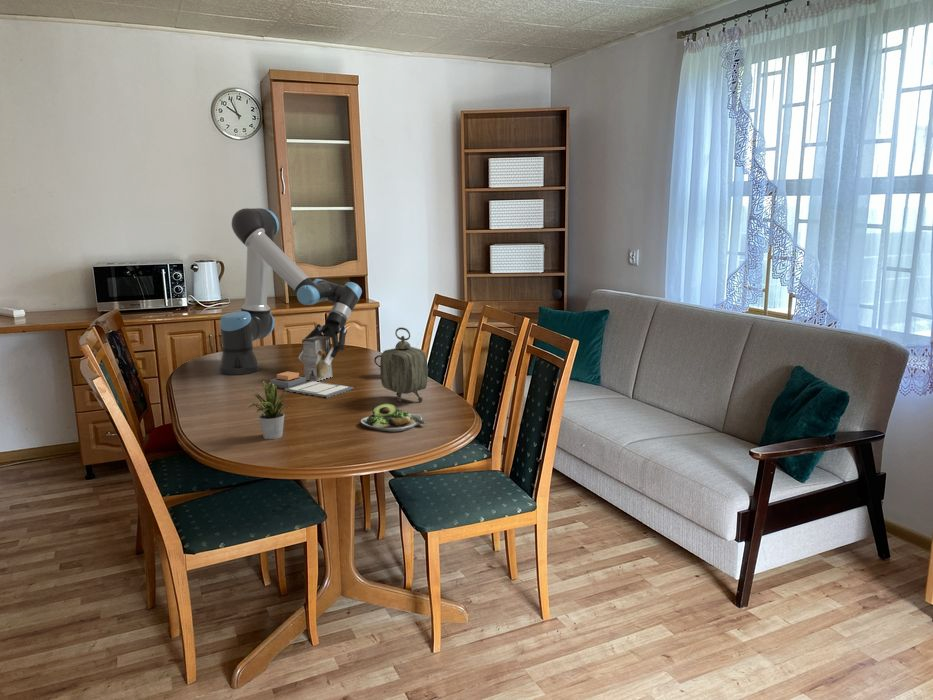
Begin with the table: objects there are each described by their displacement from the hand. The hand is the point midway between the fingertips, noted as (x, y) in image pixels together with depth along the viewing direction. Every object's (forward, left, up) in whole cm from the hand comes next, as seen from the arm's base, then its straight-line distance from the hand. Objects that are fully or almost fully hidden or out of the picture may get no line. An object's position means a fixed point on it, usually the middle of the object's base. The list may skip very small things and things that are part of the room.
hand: (313, 362), depth 260 cm
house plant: (+35, -56, -7) cm, 67 cm away
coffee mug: (+22, +20, -7) cm, 30 cm away
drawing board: (+12, -10, -7) cm, 17 cm away
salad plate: (+58, -29, -8) cm, 66 cm away
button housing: (-3, -10, -7) cm, 13 cm away
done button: (-3, -10, -4) cm, 12 cm away
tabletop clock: (+47, -7, -7) cm, 48 cm away
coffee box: (0, +3, -7) cm, 8 cm away
